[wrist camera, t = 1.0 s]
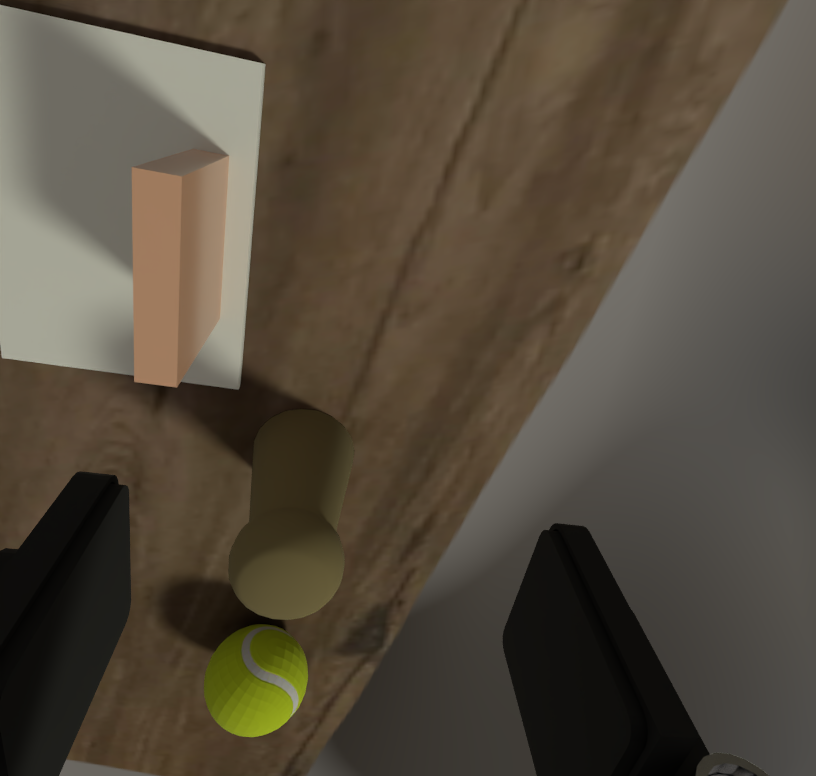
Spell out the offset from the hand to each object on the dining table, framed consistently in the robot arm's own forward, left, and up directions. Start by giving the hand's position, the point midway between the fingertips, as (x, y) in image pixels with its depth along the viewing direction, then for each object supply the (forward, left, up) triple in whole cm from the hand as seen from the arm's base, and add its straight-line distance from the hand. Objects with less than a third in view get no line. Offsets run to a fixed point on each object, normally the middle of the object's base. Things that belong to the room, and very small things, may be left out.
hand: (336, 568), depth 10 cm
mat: (0, -11, -22) cm, 24 cm away
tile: (0, -7, -21) cm, 22 cm away
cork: (+12, -1, -22) cm, 25 cm away
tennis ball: (+28, -2, -22) cm, 36 cm away
